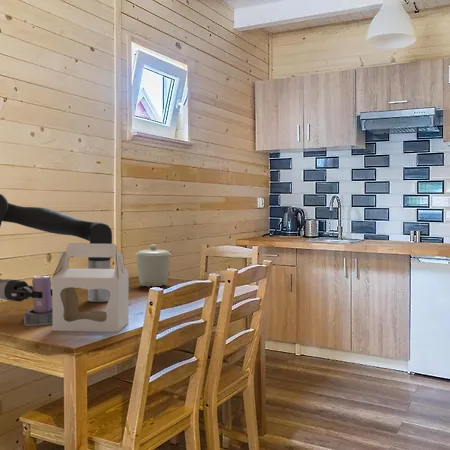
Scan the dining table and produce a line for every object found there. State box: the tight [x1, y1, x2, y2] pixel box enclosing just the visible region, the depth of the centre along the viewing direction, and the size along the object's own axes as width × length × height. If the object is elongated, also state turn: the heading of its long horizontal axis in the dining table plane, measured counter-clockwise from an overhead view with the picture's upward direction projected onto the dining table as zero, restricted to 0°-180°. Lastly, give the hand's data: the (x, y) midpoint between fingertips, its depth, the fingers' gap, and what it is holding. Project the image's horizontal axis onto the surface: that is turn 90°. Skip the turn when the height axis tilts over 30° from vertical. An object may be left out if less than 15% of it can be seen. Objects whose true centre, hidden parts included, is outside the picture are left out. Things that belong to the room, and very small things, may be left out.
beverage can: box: [31, 275, 52, 314], centre depth 182 cm, size 6×6×15 cm
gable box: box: [51, 242, 129, 333], centre depth 175 cm, size 22×13×28 cm, turn 86°
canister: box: [134, 243, 172, 288], centre depth 264 cm, size 18×18×21 cm
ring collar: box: [23, 308, 53, 327], centre depth 183 cm, size 12×12×4 cm
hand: (48, 294), depth 181 cm, fingers open, 5 cm apart
